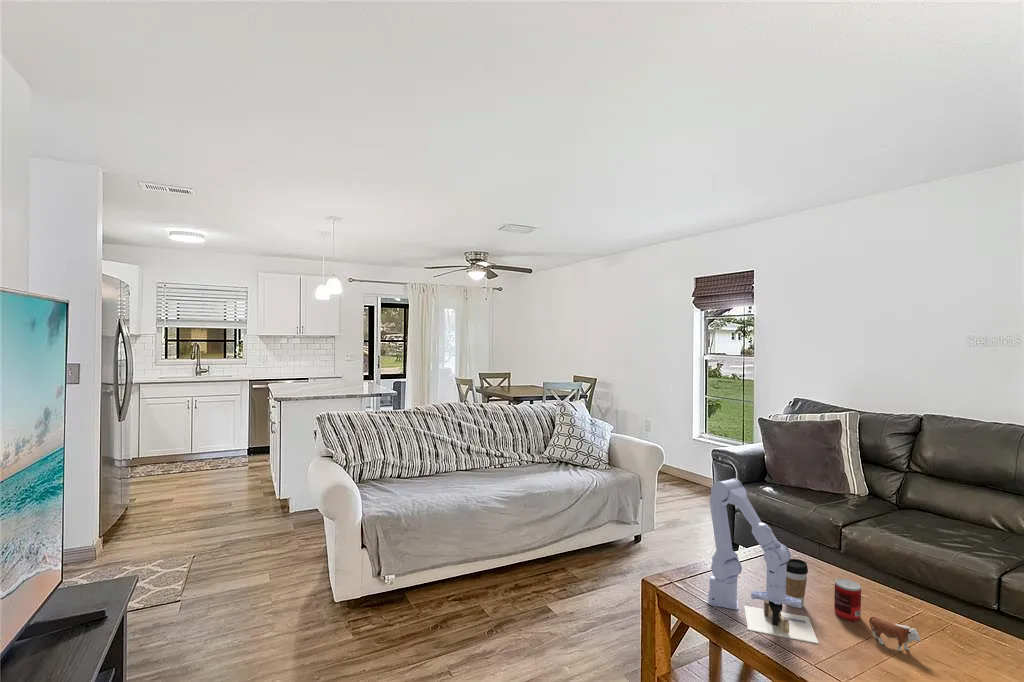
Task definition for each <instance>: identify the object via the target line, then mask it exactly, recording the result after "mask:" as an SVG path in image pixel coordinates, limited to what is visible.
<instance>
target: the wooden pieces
mask: <svg viewBox="0 0 1024 682" xmlns="http://www.w3.org/2000/svg"><path fill="white" fill-rule="evenodd" d="M769 606H770V605H769V601H765V600H763V609H764V615H765V616H768V617H769Z"/></svg>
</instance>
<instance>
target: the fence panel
mask: <svg viewBox="0 0 1024 682" xmlns="http://www.w3.org/2000/svg"><path fill="white" fill-rule="evenodd" d="M769 618H771V619H772V610H771V608H770V606H769ZM777 618H778V626H779V627H780V628H781V629H782V630H783V631H784V632H785V633H789V622H788V619H787V618H783V617H782V616H781V613H779V615H778V617H777Z"/></svg>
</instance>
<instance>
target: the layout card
mask: <svg viewBox="0 0 1024 682" xmlns="http://www.w3.org/2000/svg"><path fill="white" fill-rule="evenodd" d="M743 608H744V615H745V621H746V626H747V627H746V628H747V631H749V632H750V631H751V632H756V633H761V634H766V635H771V636H776V637H781V638H786V639H792V640H795V641H802V642H807V643H812V644H817V645H818V644H819V641H818V638H817V636H816V634H815V631H814V629H813V626H812V623H811V620H810V618H809V616H805V615H799V614H794V613H788V612H787V613H786V612H783V611H781V612H780V613H781V616H782V617H783V618H787V619H788V622H789V633H785V632H784V631H783V630H782V629H781V628H780V627H779V626H774V625H772V619H771V618H769V617H768V616H765V615H764V608H762V607H761V608H760V607H755V606H748V605H744V606H743Z"/></svg>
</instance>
